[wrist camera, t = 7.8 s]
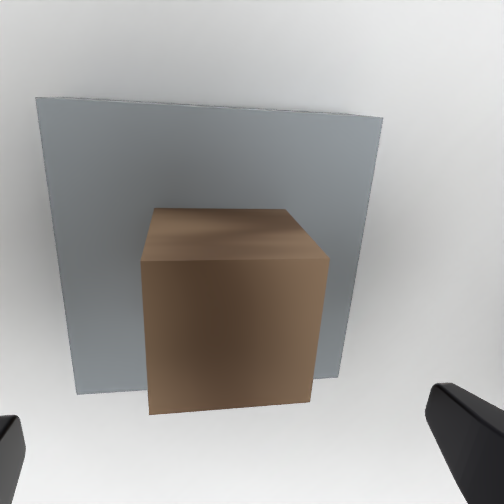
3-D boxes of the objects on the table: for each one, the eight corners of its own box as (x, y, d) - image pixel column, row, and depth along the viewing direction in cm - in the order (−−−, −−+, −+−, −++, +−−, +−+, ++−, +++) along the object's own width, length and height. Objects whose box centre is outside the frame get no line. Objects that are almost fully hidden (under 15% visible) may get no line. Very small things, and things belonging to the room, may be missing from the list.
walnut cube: (285, 209, 15) (329, 258, 10) (275, 319, 17) (309, 402, 12) (154, 208, 14) (140, 261, 10) (159, 324, 16) (149, 415, 11)
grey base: (351, 114, 17) (383, 117, 14) (318, 341, 21) (337, 377, 19) (62, 97, 15) (35, 97, 12) (92, 352, 19) (76, 394, 17)
